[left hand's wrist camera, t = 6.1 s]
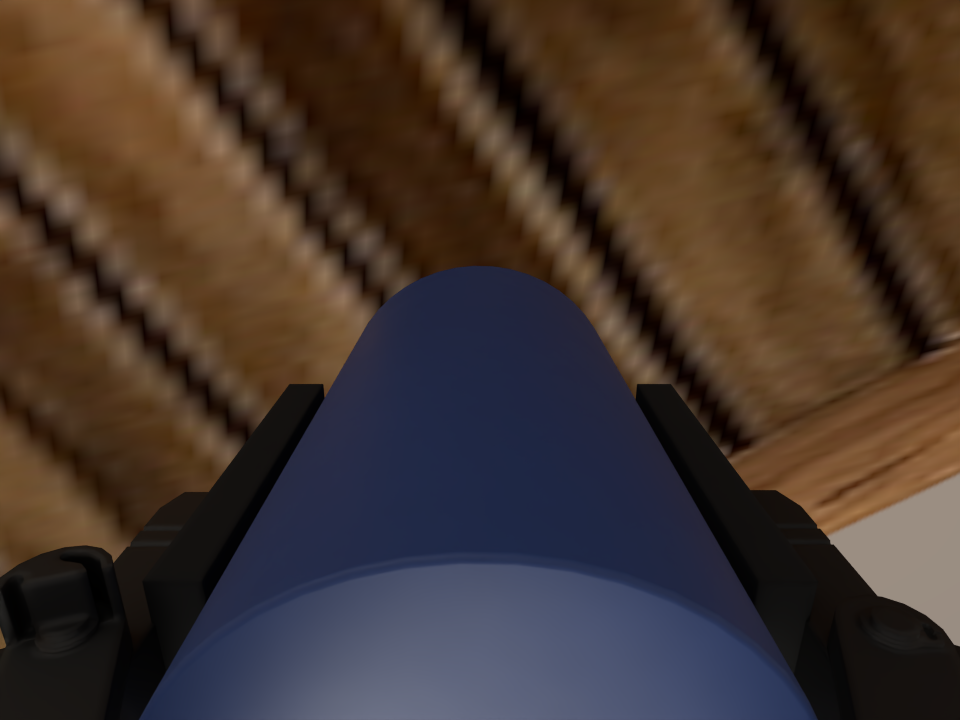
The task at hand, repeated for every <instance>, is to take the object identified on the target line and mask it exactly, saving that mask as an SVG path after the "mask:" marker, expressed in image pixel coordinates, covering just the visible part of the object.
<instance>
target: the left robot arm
mask: <svg viewBox="0 0 960 720" xmlns="http://www.w3.org/2000/svg"><path fill="white" fill-rule="evenodd" d="M324 399H325V398H324V388H323V384H289V386H288V387H287V388H286V390H285V391H284V392H283V394H282V395H281V396H280V398H279V399H278V400H277V402H276V403H275V404H274V406H273V407H272V408H271V410H270V411H269V412H268V414H267V415H266V416H265V418H264V419H263V420H262V422H261V423H260V424H259V426H258V427H257V428H256V430H255V431H254V432H253V434H252V435H251V436H250V438H249V439H248V440H247V442H246V443H245V444H244V446H243V447H242V448H241V450H240V451H239V452H238V454H237V455H236V456H235V458H234V459H233V460H232V462H231V463H230V464H229V466H228V467H227V468H226V470H225V471H224V472H223V474H222V475H221V476H220V478H219V479H218V480H217V482H216V483H215V484H214V486H213V487H212V489H211V490H210V491H209V492H184V493H183V494H181V495H180V496H178V497H177V498H175V499H173V500H172V501H170V502H169V503H167V504H166V505H164V506H163V507H161V508H160V509H159V510H158V511H157V512H156V513H155V515H154V516H153V517H152V518H151V519H150V521H149V522H148V523H147V524H146V525H145V526H144V531H140V532H139V534H138V535H137V536H136V537H135V538H134V539H133V541H132V542H131V546H130V547H127V548H126V549H125V550H124V551H123V552H122V554H121V555H120V556H119V557H118V558H117V560H116V561H115V562H114V563H113V560H112V556H111V555H110V554H109V553H108V552H106V551H105V550H104V549H102V548H98V547H92V546H86V545H85V546H74V547H64V548H61V549H57V550H54V551H50V552H46V553H43V554H40V555H38V556H36V557H34V558H31V559H29V560H27V561H25V562H23V563H21V564H19V565H17V566H16V567H14V568H13V569H12V570H10V571H9V572H7V573H6V574H4V575H3V576H2V577H0V628H1V631H2V634H3V637H4V640H5V643H6V647H5V648H3V649H0V720H139V719H140V717H141V715H142V713H143V711H144V710H145V708H146V706H147V704H148V703H149V701H150V699H151V697H152V696H153V694H154V692H155V690H156V689H157V687H158V685H159V683H160V682H161V680H162V678H163V677H164V675H165V673H166V671H167V670H168V668H169V666H170V664H171V663H172V661H173V659H174V658H175V656H176V654H177V652H178V651H179V649H180V647H181V646H182V644H183V642H184V640H185V639H186V637H187V635H188V633H189V632H190V630H191V628H192V627H193V625H194V623H195V621H196V620H197V618H198V616H199V614H200V613H201V611H202V609H203V608H204V606H205V604H206V602H207V601H208V599H209V597H210V595H211V594H212V592H213V590H214V589H215V587H216V585H217V583H218V582H219V580H220V578H221V576H222V575H223V573H224V571H225V570H226V568H227V566H228V564H229V563H230V561H231V559H232V557H233V556H234V554H235V552H236V551H237V549H238V547H239V545H240V544H241V542H242V540H243V538H244V537H245V535H246V533H247V532H248V530H249V528H250V526H251V525H252V523H253V521H254V519H255V518H256V516H257V514H258V513H259V511H260V509H261V507H262V506H263V504H264V502H265V500H266V499H267V497H268V495H269V494H270V492H271V490H272V488H273V487H274V485H275V483H276V481H277V480H278V478H279V476H280V475H281V473H282V471H283V469H284V468H285V466H286V464H287V462H288V461H289V459H290V457H291V456H292V454H293V452H294V450H295V449H296V447H297V445H298V443H299V442H300V440H301V438H302V437H303V435H304V433H305V431H306V430H307V428H308V426H309V424H310V423H311V421H312V419H313V418H314V416H315V414H316V412H317V411H318V409H319V407H320V406H321V404H322V402H323V400H324ZM636 402H637V403H638V405H639V407H640V409H641V410H642V412H643V414H644V416H645V417H646V419H647V421H648V422H649V424H650V426H651V428H652V429H653V431H654V433H655V435H656V436H657V438H658V440H659V442H660V443H661V445H662V447H663V449H664V450H665V452H666V454H667V455H668V457H669V459H670V461H671V462H672V464H673V466H674V468H675V469H676V471H677V473H678V475H679V476H680V478H681V480H682V482H683V483H684V485H685V487H686V488H687V490H688V492H689V494H690V495H691V497H692V499H693V501H694V502H695V504H696V506H697V508H698V509H699V511H700V513H701V515H702V516H703V518H704V520H705V521H706V523H707V525H708V527H709V528H710V530H711V532H712V534H713V535H714V537H715V539H716V541H717V542H718V544H719V546H720V548H721V549H722V551H723V553H724V554H725V556H726V558H727V560H728V561H729V563H730V565H731V567H732V568H733V570H734V572H735V574H736V575H737V577H738V579H739V581H740V582H741V584H742V586H743V587H744V589H745V591H746V593H747V594H748V596H749V598H750V600H751V601H752V603H753V605H754V607H755V608H756V610H757V612H758V614H759V615H760V617H761V619H762V620H763V622H764V624H765V626H766V627H767V629H768V631H769V633H770V634H771V636H772V638H773V640H774V641H775V643H776V645H777V647H778V648H779V650H780V652H781V653H782V655H783V657H784V659H785V660H786V662H787V664H788V666H789V667H790V669H791V671H792V673H793V674H794V676H795V678H796V680H797V681H798V683H799V685H800V686H801V688H802V690H803V692H804V693H805V695H806V697H807V699H808V700H809V702H810V704H811V706H812V708H813V711H814V713H815V715H816V717H817V719H818V720H960V646H956V645H954V644H953V643H952V641H951V640H950V639H949V637H948V636H947V634H946V633H945V631H944V630H943V629H942V628H941V627H940V626H938V625H937V624H936V623H935V622H933V621H932V620H931V619H930V618H928V617H927V616H926V615H924V614H922V613H920V612H918V611H917V610H915V609H913V608H911V607H909V606H907V605H905V604H903V603H900V602H897V601H893V600H890V599H887V598H884V597H879V596H877V595H876V594H875V593H874V591H873V590H872V589H871V588H870V587H869V586H868V584H867V583H866V582H865V581H864V580H863V579H862V577H861V576H860V575H859V574H858V573H857V571H856V570H855V569H854V568H853V567H852V566H851V564H850V563H849V562H848V561H847V560H846V559H845V557H844V556H843V555H842V554H841V553H840V552H839V550H838V549H837V548H836V547H835V546H834V545H831V544H830V540H829V539H828V537H827V536H826V535H825V534H824V533H823V532H822V530H821V529H817V525H816V523H815V522H814V521H813V520H812V519H811V517H810V516H809V515H808V514H807V513H806V512H805V510H804V509H803V508H802V507H801V506H800V505H798V504H797V503H795V502H794V501H792V500H790V499H789V498H787V497H786V496H784V495H783V494H781V493H779V492H778V491H776V490H750V489H749V488H748V487H747V485H746V484H745V483H744V481H743V480H742V479H741V477H740V476H739V475H738V473H737V472H736V471H735V469H734V468H733V467H732V465H731V464H730V463H729V461H728V460H727V459H726V457H725V456H724V455H723V453H722V452H721V451H720V449H719V448H718V447H717V445H716V444H715V443H714V441H713V440H712V439H711V437H710V436H709V435H708V433H707V432H706V431H705V429H704V428H703V427H702V425H701V424H700V423H699V421H698V420H697V419H696V417H695V416H694V415H693V413H692V412H691V411H690V409H689V408H688V406H687V405H686V404H685V402H684V401H683V400H682V398H681V397H680V396H679V394H678V393H677V392H676V390H675V389H674V388H673V386H672V385H671V384H637V392H636Z"/></svg>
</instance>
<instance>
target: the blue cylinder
mask: <svg viewBox="0 0 960 720" xmlns="http://www.w3.org/2000/svg"><path fill="white" fill-rule="evenodd" d="M139 720H818V719H817V717H816V715H815V713H814V711H813V708H812V706H811V704H810V702H809V700H808V699H807V697H806V695H805V693H804V692H803V690H802V688H801V686H800V685H799V683H798V681H797V680H796V678H795V676H794V674H793V673H792V671H791V669H790V667H789V666H788V664H787V662H786V660H785V659H784V657H783V655H782V653H781V652H780V650H779V648H778V647H777V645H776V643H775V641H774V640H773V638H772V636H771V634H770V633H769V631H768V629H767V627H766V626H765V624H764V622H763V620H762V619H761V617H760V615H759V614H758V612H757V610H756V608H755V607H754V605H753V603H752V601H751V600H750V598H749V596H748V594H747V593H746V591H745V589H744V587H743V586H742V584H741V582H740V581H739V579H738V577H737V575H736V574H735V572H734V570H733V568H732V567H731V565H730V563H729V561H728V560H727V558H726V556H725V554H724V553H723V551H722V549H721V548H720V546H719V544H718V542H717V541H716V539H715V537H714V535H713V534H712V532H711V530H710V528H709V527H708V525H707V523H706V521H705V520H704V518H703V516H702V515H701V513H700V511H699V509H698V508H697V506H696V504H695V502H694V501H693V499H692V497H691V495H690V494H689V492H688V490H687V488H686V487H685V485H684V483H683V482H682V480H681V478H680V476H679V475H678V473H677V471H676V469H675V468H674V466H673V464H672V462H671V461H670V459H669V457H668V455H667V454H666V452H665V450H664V449H663V447H662V445H661V443H660V442H659V440H658V438H657V436H656V435H655V433H654V431H653V429H652V428H651V426H650V424H649V422H648V421H647V419H646V417H645V416H644V414H643V412H642V410H641V409H640V407H639V405H638V403H637V402H636V400H635V398H634V396H633V395H632V393H631V391H630V389H629V388H628V386H627V384H626V383H625V381H624V379H623V377H622V376H621V374H620V372H619V370H618V369H617V367H616V365H615V363H614V362H613V360H612V358H611V356H610V355H609V353H608V351H607V350H606V348H605V346H604V344H603V343H602V341H601V339H600V337H599V336H598V334H597V332H596V330H595V329H594V327H593V326H592V324H591V323H590V321H589V320H588V319H587V317H586V316H585V314H584V313H583V312H582V311H581V310H580V309H579V308H578V307H577V306H576V305H575V304H574V303H573V302H572V301H571V300H570V299H569V298H568V297H566V296H565V295H564V294H563V293H561V292H560V291H559V290H557V289H556V288H554V287H552V286H551V285H549V284H547V283H546V282H544V281H542V280H539V279H537V278H535V277H533V276H530V275H528V274H525V273H521V272H518V271H515V270H511V269H506V268H499V267H493V266H469V267H460V268H453V269H449V270H445V271H441V272H437V273H434V274H432V275H429V276H427V277H424V278H421V279H419V280H418V281H416V282H414V283H412V284H410V285H408V286H407V287H405V288H403V289H402V290H401V291H399V292H398V293H397V294H395V295H394V296H393V297H391V298H390V299H389V300H388V301H387V302H386V303H385V304H384V305H383V306H382V307H381V308H380V309H379V310H378V311H377V312H376V314H375V315H374V316H373V318H372V319H371V320H370V321H369V323H368V324H367V326H366V328H365V330H364V331H363V333H362V335H361V336H360V338H359V340H358V342H357V343H356V345H355V347H354V349H353V350H352V352H351V354H350V355H349V357H348V359H347V361H346V362H345V364H344V366H343V368H342V369H341V371H340V373H339V374H338V376H337V378H336V380H335V381H334V383H333V385H332V387H331V388H330V390H329V392H328V393H327V395H326V397H325V399H324V400H323V402H322V404H321V406H320V407H319V409H318V411H317V412H316V414H315V416H314V418H313V419H312V421H311V423H310V424H309V426H308V428H307V430H306V431H305V433H304V435H303V437H302V438H301V440H300V442H299V443H298V445H297V447H296V449H295V450H294V452H293V454H292V456H291V457H290V459H289V461H288V462H287V464H286V466H285V468H284V469H283V471H282V473H281V475H280V476H279V478H278V480H277V481H276V483H275V485H274V487H273V488H272V490H271V492H270V494H269V495H268V497H267V499H266V500H265V502H264V504H263V506H262V507H261V509H260V511H259V513H258V514H257V516H256V518H255V519H254V521H253V523H252V525H251V526H250V528H249V530H248V532H247V533H246V535H245V537H244V538H243V540H242V542H241V544H240V545H239V547H238V549H237V551H236V552H235V554H234V556H233V557H232V559H231V561H230V563H229V564H228V566H227V568H226V570H225V571H224V573H223V575H222V576H221V578H220V580H219V582H218V583H217V585H216V587H215V589H214V590H213V592H212V594H211V595H210V597H209V599H208V601H207V602H206V604H205V606H204V608H203V609H202V611H201V613H200V614H199V616H198V618H197V620H196V621H195V623H194V625H193V627H192V628H191V630H190V632H189V633H188V635H187V637H186V639H185V640H184V642H183V644H182V646H181V647H180V649H179V651H178V652H177V654H176V656H175V658H174V659H173V661H172V663H171V664H170V666H169V668H168V670H167V671H166V673H165V675H164V677H163V678H162V680H161V682H160V683H159V685H158V687H157V689H156V690H155V692H154V694H153V696H152V697H151V699H150V701H149V703H148V704H147V706H146V708H145V710H144V711H143V713H142V715H141V717H140V719H139Z"/></svg>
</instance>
